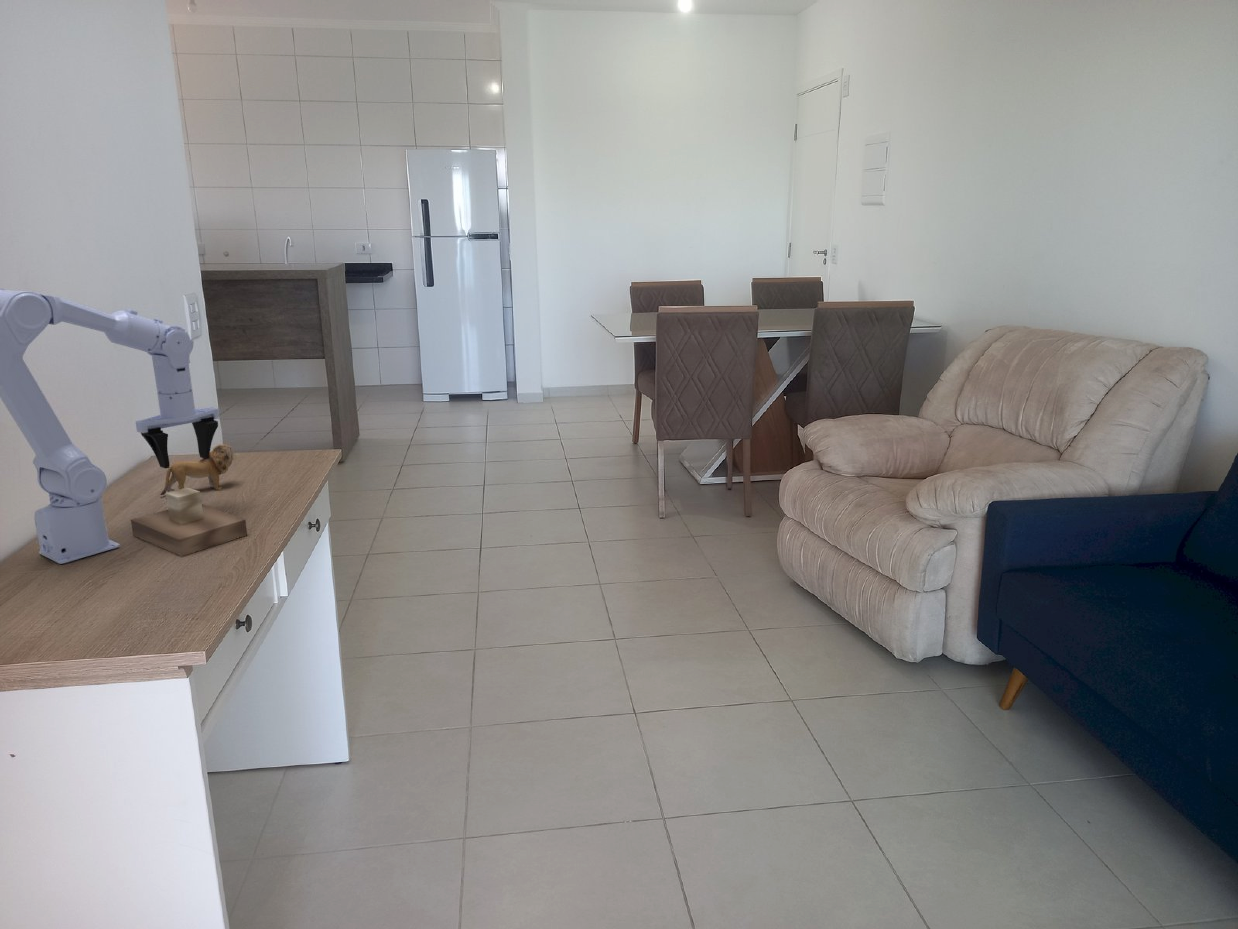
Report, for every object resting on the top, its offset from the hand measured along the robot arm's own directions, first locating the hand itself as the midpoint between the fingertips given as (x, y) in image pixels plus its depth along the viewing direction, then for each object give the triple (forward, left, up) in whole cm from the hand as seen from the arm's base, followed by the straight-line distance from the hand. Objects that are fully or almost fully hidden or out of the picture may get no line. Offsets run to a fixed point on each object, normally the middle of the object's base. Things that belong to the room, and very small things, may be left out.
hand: (185, 462), depth 156 cm
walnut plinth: (-6, -10, -10) cm, 16 cm away
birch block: (-6, -9, -7) cm, 13 cm away
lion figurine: (+9, +13, -11) cm, 19 cm away
